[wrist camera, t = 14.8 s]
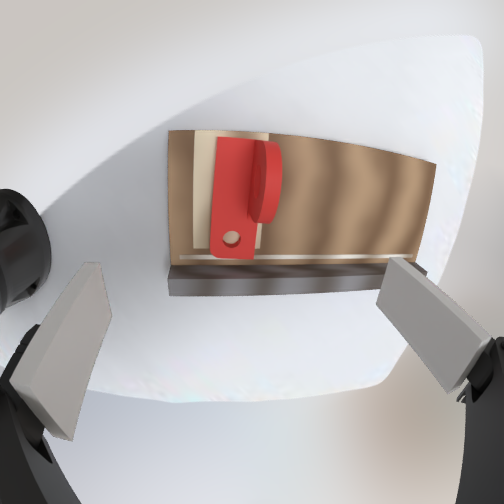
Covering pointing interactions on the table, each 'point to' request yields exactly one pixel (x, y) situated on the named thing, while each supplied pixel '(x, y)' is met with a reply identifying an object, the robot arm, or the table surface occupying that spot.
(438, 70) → the table surface
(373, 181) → the board
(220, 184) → the bracket
